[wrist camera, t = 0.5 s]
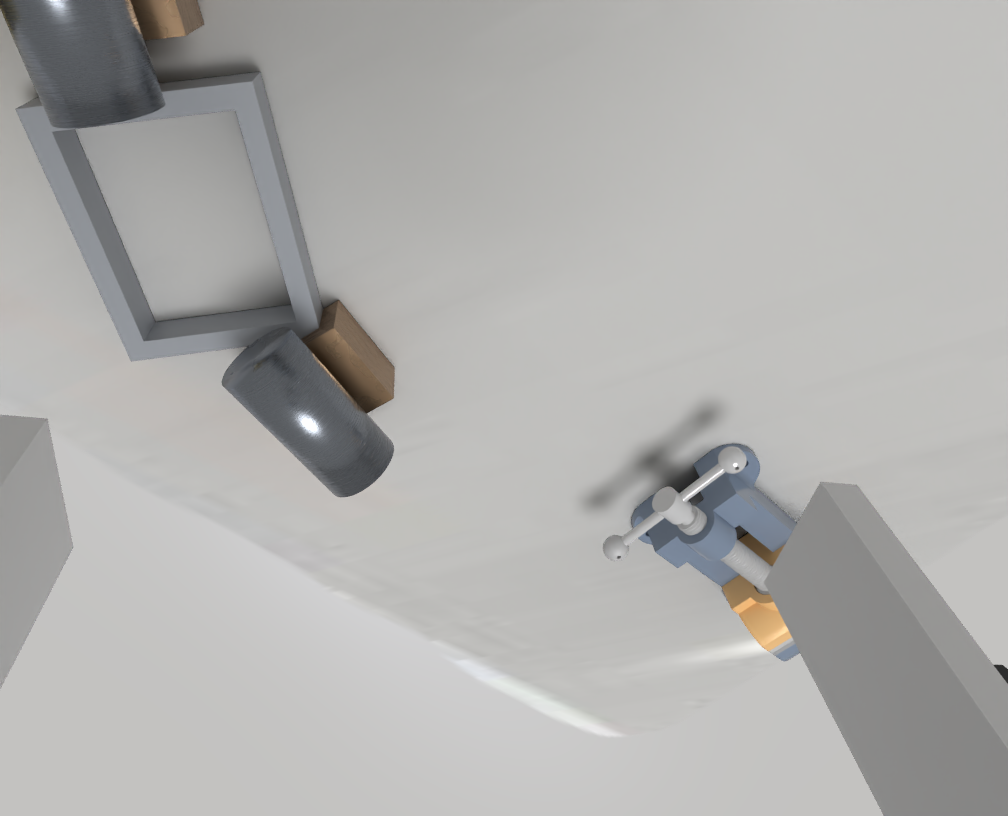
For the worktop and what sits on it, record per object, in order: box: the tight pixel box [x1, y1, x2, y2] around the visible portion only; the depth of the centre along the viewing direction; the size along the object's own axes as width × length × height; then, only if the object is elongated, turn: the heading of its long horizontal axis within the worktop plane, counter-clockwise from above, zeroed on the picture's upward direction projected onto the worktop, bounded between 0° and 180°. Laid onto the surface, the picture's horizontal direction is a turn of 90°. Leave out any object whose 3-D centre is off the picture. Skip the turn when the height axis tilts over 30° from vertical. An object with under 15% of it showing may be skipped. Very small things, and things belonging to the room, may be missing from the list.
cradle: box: [16, 72, 323, 361], centre depth 34 cm, size 12×10×2 cm
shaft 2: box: [222, 300, 395, 497], centre depth 37 cm, size 8×6×7 cm
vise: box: [603, 444, 800, 661], centre depth 48 cm, size 18×10×7 cm, turn 46°
